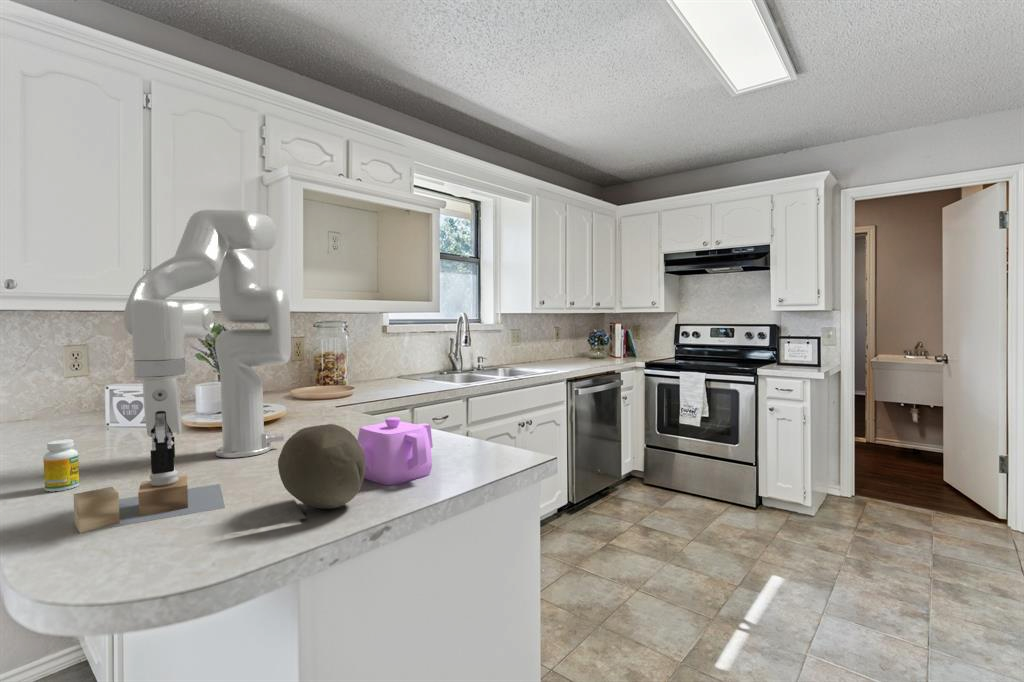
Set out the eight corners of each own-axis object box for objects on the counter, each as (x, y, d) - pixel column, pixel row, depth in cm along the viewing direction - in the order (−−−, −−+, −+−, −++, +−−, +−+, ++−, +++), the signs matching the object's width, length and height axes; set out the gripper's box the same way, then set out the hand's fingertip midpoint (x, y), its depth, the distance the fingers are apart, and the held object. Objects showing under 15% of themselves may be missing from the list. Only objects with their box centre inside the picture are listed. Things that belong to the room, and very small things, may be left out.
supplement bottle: (50, 486, 107) (48, 440, 107) (83, 482, 109) (81, 437, 109) (40, 494, 102) (38, 445, 102) (75, 490, 105) (73, 442, 104)
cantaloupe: (344, 490, 103) (342, 414, 102) (379, 508, 92) (378, 424, 92) (269, 508, 93) (266, 425, 92) (299, 531, 83) (297, 437, 82)
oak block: (113, 515, 88) (111, 486, 88) (119, 523, 85) (118, 493, 84) (74, 524, 84) (73, 494, 84) (80, 532, 81) (78, 501, 81)
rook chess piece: (156, 488, 90) (154, 442, 89) (144, 484, 92) (142, 439, 92) (184, 481, 93) (182, 437, 93) (171, 478, 96) (170, 434, 95)
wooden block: (187, 496, 97) (187, 475, 97) (188, 507, 91) (187, 485, 91) (141, 503, 94) (141, 482, 94) (139, 516, 88) (138, 492, 88)
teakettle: (428, 485, 106) (427, 424, 105) (343, 487, 105) (342, 426, 104) (436, 462, 123) (435, 410, 122) (363, 464, 122) (362, 411, 121)
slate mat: (219, 487, 105) (219, 483, 105) (225, 512, 91) (225, 507, 91) (93, 507, 94) (93, 503, 94) (78, 538, 81) (78, 533, 81)
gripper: (185, 372, 86) (189, 474, 87) (185, 364, 101) (188, 452, 102) (129, 375, 82) (134, 482, 83) (137, 367, 97) (141, 457, 98)
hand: (163, 465), depth 93 cm, fingers open, 9 cm apart
